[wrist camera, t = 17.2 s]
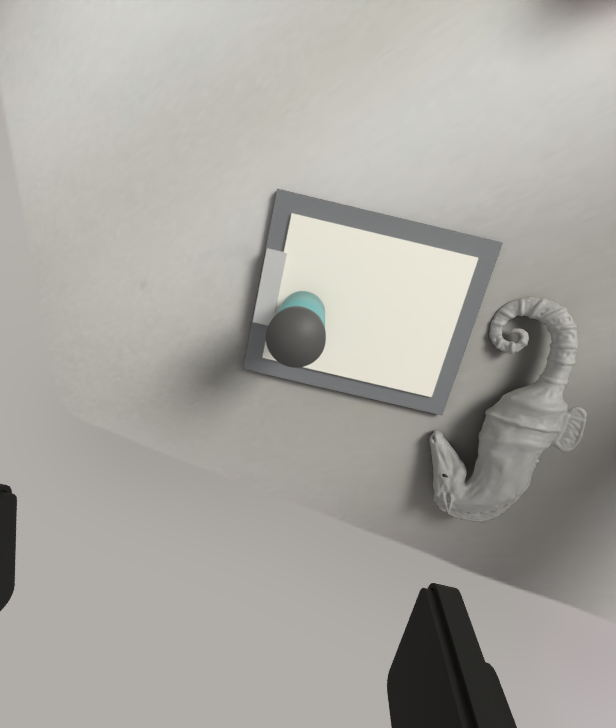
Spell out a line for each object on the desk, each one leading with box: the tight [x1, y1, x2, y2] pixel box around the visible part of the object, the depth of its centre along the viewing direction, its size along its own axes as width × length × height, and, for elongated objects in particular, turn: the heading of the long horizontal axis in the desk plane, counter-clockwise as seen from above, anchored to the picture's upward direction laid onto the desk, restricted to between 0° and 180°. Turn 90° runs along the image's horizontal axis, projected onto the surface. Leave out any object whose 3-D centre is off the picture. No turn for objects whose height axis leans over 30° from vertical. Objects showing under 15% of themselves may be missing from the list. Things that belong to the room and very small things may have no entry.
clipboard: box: [243, 189, 502, 415], centre depth 35 cm, size 18×15×2 cm
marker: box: [266, 291, 326, 368], centre depth 31 cm, size 4×4×10 cm
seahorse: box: [429, 297, 587, 522], centre depth 36 cm, size 5×12×20 cm
